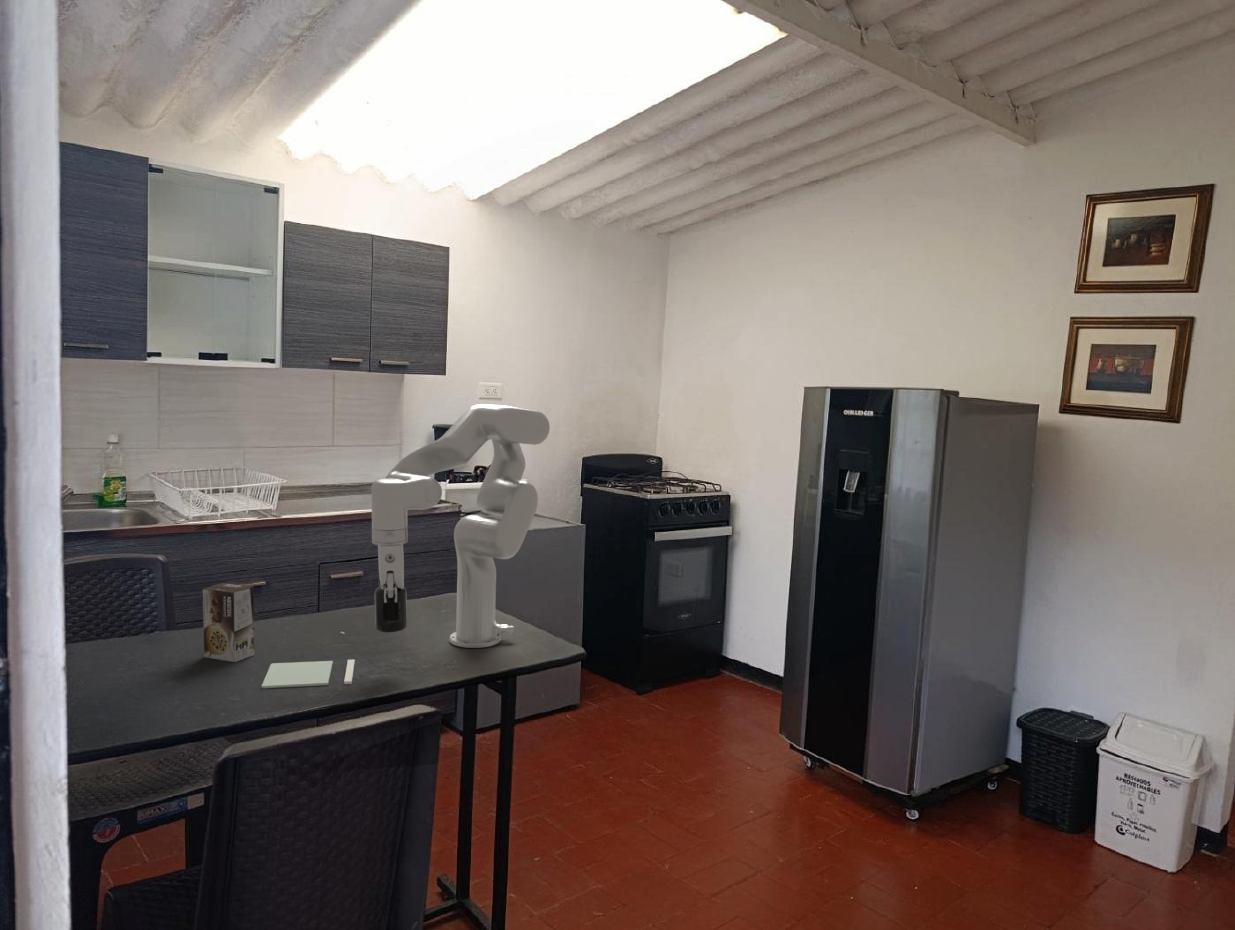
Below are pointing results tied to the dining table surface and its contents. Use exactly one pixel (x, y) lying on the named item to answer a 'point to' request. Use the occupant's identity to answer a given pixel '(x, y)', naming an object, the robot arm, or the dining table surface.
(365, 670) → the dining table surface
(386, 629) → the supplement bottle
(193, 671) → the dining table surface
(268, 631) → the dining table surface
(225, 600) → the coffee box
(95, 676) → the dining table surface
